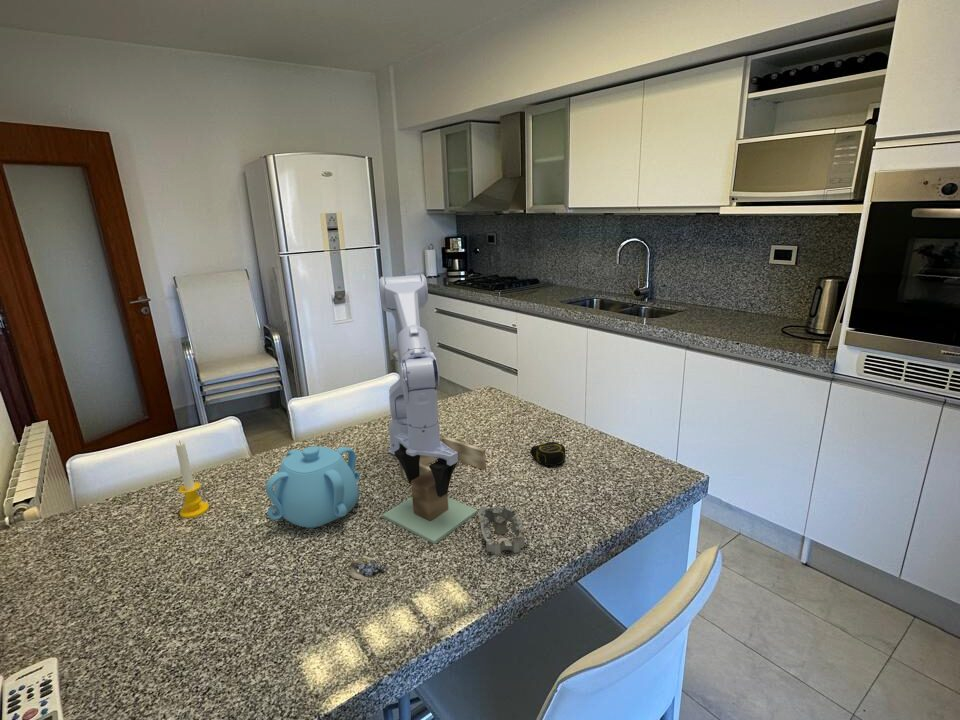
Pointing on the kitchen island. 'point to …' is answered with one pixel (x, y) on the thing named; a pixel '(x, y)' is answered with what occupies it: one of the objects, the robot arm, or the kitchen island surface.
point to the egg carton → (501, 529)
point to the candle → (189, 486)
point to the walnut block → (427, 497)
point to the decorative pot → (314, 486)
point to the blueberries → (366, 568)
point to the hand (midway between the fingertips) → (428, 488)
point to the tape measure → (548, 453)
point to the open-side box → (465, 454)
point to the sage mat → (430, 529)
